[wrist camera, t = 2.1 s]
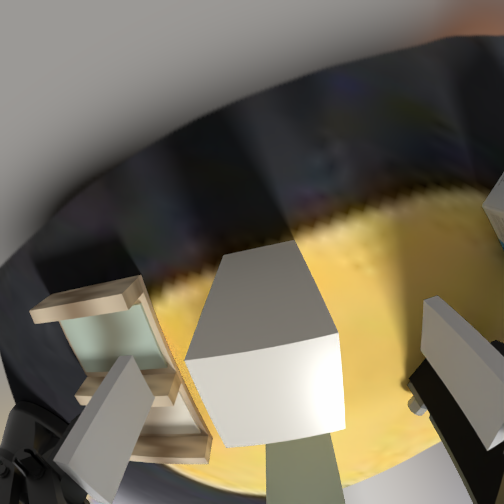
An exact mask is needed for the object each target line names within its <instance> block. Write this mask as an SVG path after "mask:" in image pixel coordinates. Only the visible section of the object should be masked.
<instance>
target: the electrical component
mask: <svg viewBox="0 0 504 504" xmlns="http://www.w3.org/2000/svg"><path fill="white" fill-rule="evenodd" d="M409 380H410V382H409V384H408V385H407V386H408V387H409V389H410V391H411V392H412V394H413V397H412V398H411V399H410V400H409V401H408V407H409V409H410V410H411V412H413V413H414V414H416V415H418V416H419V415H423V414H424V413H425V412H426V411H427V410H428V411H429V413H430V417H429V419H430V421H431V422H432V424H433V426H434V428H435V430H436V431H437V433H438V435H439V437H440V439H441V441H442V442H443V444H444V446H445V448H446V450H447V452H448V453H449V455H450V457H451V459H452V461H453V463H454V465H455V467H456V469H457V471H458V473H459V475H460V477H461V479H462V481H463V483H464V485H465V487H466V489H467V491H468V493H469V495H470V498H471V500H472V502H473V504H495V502H496V499H497V496H498V492H499V489H500V486H501V482H502V478H503V474H504V454H503V452H504V441H502V442H501V443H499V444H498V445H496V446H495V447H493V448H491V449H490V450H488V451H487V449H486V448H485V446H484V444H483V443H482V441H481V439H480V438H479V436H478V435H477V433H476V431H475V430H474V428H473V426H472V425H471V423H470V422H469V420H468V419H467V417H466V415H465V414H464V412H463V411H462V409H461V408H460V406H459V405H458V403H457V402H456V400H455V399H454V397H453V396H452V394H451V393H450V391H449V390H448V388H447V387H446V385H445V384H444V383H443V381H442V380H441V378H440V377H439V375H438V374H437V373H436V371H435V370H434V368H433V367H432V366H431V364H430V363H429V361H428V360H427V359H426V358H425V359H424V361H423V362H422V363H421V365H420V366H419V367H418V368H417V369H416V371H415V372H414V373H413V374H412V375H411V377H410V378H409Z"/></svg>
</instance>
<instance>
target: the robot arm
mask: <svg viewBox="0 0 504 504" xmlns="http://www.w3.org/2000/svg"><path fill="white" fill-rule="evenodd" d="M420 350H421V352H422V353H423V354H424V356H425V357H426V359H427V360H428V361H429V363H430V364H431V366H432V367H433V368H434V370H435V371H436V373H437V374H438V375H439V377H440V378H441V380H442V381H443V383H444V384H445V385H446V387H447V388H448V390H449V391H450V393H451V394H452V396H453V397H454V399H455V400H456V402H457V403H458V405H459V406H460V408H461V409H462V411H463V412H464V414H465V415H466V417H467V419H468V420H469V422H470V423H471V425H472V426H473V428H474V430H475V431H476V433H477V435H478V436H479V438H480V439H481V441H482V443H483V444H484V446H485V448H486V449H487V451H488V450H490V449H491V448H493V447H495V446H496V445H498V444H499V443H501V442H502V441H504V344H503V343H501V342H499V341H497V340H495V341H493V342H491V343H489V342H488V341H487V340H486V339H485V338H484V337H483V336H482V335H481V334H480V333H479V332H478V331H477V330H476V329H475V328H473V327H472V326H471V325H470V324H469V323H468V322H467V321H466V320H465V319H464V318H463V317H462V316H460V315H459V314H458V313H457V312H456V311H455V310H454V309H453V308H452V307H450V306H449V305H448V304H447V303H446V302H445V301H444V300H442V299H441V298H440V297H439V296H438V295H437V296H434V297H431V298H428V299H425V300H424V302H423V324H422V338H421V349H420ZM154 399H155V397H154V396H153V394H152V392H151V390H150V388H149V386H148V385H147V383H146V381H145V379H144V377H143V375H142V373H141V371H140V369H139V367H138V365H137V363H136V361H135V359H134V357H133V355H128V356H119V357H118V359H117V360H116V362H115V363H114V365H113V366H112V368H111V369H110V371H109V372H108V374H107V375H106V377H105V378H104V380H103V381H102V383H101V384H100V386H99V387H98V389H97V390H96V392H95V393H94V395H93V396H92V398H91V400H90V401H89V403H88V404H87V406H86V407H85V409H84V410H83V412H82V414H79V415H78V416H76V417H75V418H74V419H73V420H72V421H71V422H70V424H69V425H68V424H66V423H65V422H64V421H62V420H61V419H60V418H58V417H57V416H55V415H54V414H52V413H51V412H49V411H47V410H46V409H44V408H42V407H40V406H38V405H36V404H34V403H31V402H27V401H20V402H18V403H17V404H16V405H15V406H14V407H13V409H12V410H11V411H10V413H9V417H8V420H7V424H6V427H5V431H4V435H3V439H2V443H1V445H0V504H90V503H89V501H88V500H87V499H86V496H87V494H89V495H90V496H91V497H92V498H94V499H95V500H96V501H99V502H103V503H106V504H112V503H113V500H114V498H115V495H116V492H117V490H118V487H119V485H120V482H121V479H122V477H123V474H124V472H125V469H126V467H127V464H128V462H129V459H130V457H131V454H132V452H133V449H134V447H135V444H136V442H137V440H138V437H139V435H140V432H141V430H142V427H143V425H144V423H145V420H146V418H147V416H148V413H149V411H150V408H151V406H152V404H153V401H154ZM503 454H504V452H503ZM495 504H504V474H503V478H502V482H501V486H500V489H499V492H498V496H497V499H496V502H495Z"/></svg>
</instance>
